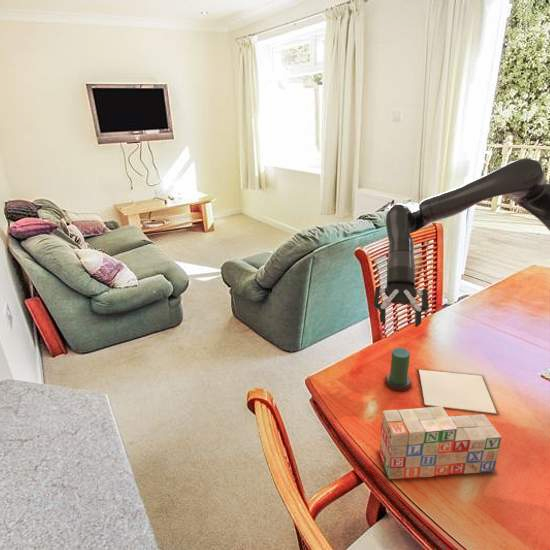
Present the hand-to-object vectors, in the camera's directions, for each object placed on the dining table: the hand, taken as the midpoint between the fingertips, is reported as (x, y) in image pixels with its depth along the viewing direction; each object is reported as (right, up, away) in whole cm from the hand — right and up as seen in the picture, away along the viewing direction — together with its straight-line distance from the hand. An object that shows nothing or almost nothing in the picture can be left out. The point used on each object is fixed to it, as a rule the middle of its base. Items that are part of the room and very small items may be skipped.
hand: (400, 325), depth 101 cm
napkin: (+13, -16, -4) cm, 21 cm away
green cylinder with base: (-1, -16, -1) cm, 16 cm away
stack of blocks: (-1, -26, -24) cm, 35 cm away
